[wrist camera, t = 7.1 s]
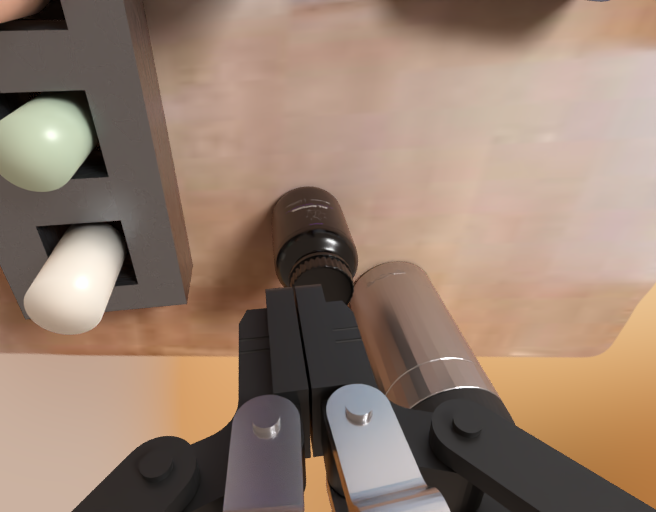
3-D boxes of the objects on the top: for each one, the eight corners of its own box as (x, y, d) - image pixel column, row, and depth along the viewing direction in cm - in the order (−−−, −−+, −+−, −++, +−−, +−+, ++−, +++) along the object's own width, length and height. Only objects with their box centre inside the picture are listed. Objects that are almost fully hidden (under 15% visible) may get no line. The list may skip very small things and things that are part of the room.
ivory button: (133, 267, 39) (111, 330, 32) (73, 272, 38) (38, 338, 32) (119, 217, 36) (92, 274, 30) (54, 222, 36) (12, 281, 29)
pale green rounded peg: (112, 147, 36) (84, 189, 30) (47, 150, 36) (3, 194, 29) (96, 84, 34) (61, 114, 27) (25, 86, 33) (-28, 117, 26)
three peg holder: (192, 265, 45) (186, 303, 40) (50, 277, 43) (25, 319, 38) (116, -135, 29) (90, -155, 24) (-118, -142, 27) (-199, -165, 22)
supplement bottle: (311, 169, 41) (334, 235, 31) (354, 219, 45) (387, 293, 35) (254, 214, 43) (258, 291, 33) (300, 259, 46) (317, 341, 36)
